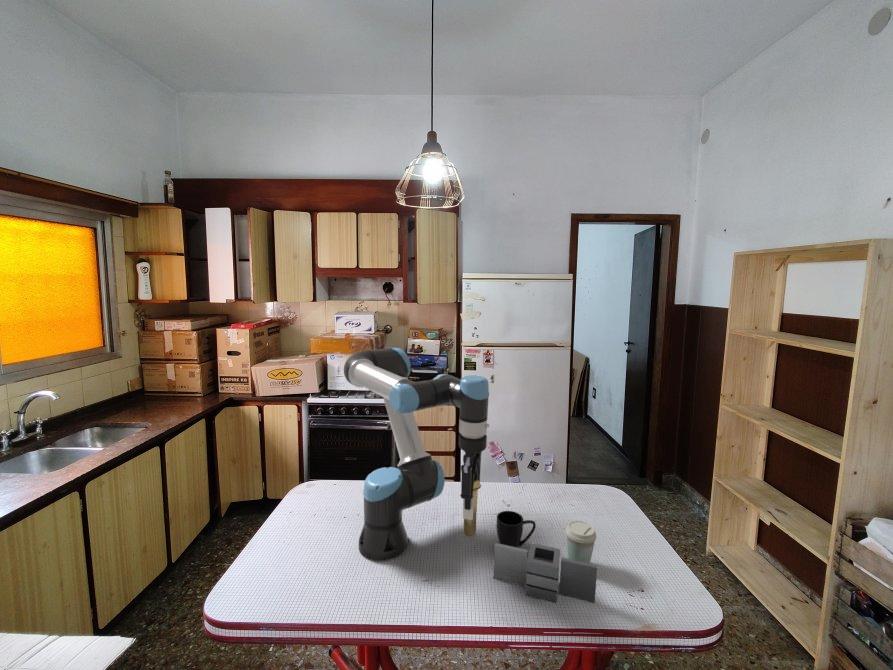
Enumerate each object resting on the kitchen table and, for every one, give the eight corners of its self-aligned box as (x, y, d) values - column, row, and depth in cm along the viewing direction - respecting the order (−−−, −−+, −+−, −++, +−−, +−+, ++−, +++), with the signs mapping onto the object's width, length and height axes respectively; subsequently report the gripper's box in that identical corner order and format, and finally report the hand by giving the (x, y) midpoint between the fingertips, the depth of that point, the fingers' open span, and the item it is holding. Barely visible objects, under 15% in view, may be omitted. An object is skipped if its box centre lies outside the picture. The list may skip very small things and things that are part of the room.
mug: (535, 557, 123) (536, 528, 122) (495, 553, 125) (496, 524, 124) (533, 540, 131) (534, 512, 130) (496, 536, 133) (496, 509, 132)
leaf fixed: (525, 595, 108) (527, 561, 107) (529, 575, 116) (530, 542, 114) (595, 613, 103) (597, 577, 102) (594, 590, 110) (596, 556, 109)
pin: (458, 536, 112) (460, 484, 110) (463, 526, 117) (465, 476, 115) (475, 540, 111) (477, 487, 109) (479, 529, 115) (481, 479, 113)
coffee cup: (574, 578, 115) (576, 538, 113) (558, 558, 123) (560, 521, 122) (600, 573, 117) (603, 534, 116) (582, 553, 125) (585, 517, 124)
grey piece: (490, 586, 111) (491, 553, 110) (496, 567, 119) (497, 535, 117) (556, 603, 106) (558, 568, 104) (558, 582, 113) (560, 549, 112)
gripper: (479, 447, 101) (475, 534, 104) (493, 425, 116) (489, 501, 120) (450, 443, 103) (447, 528, 106) (467, 421, 119) (465, 496, 122)
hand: (470, 514), depth 113 cm, fingers closed on pin, 3 cm apart
